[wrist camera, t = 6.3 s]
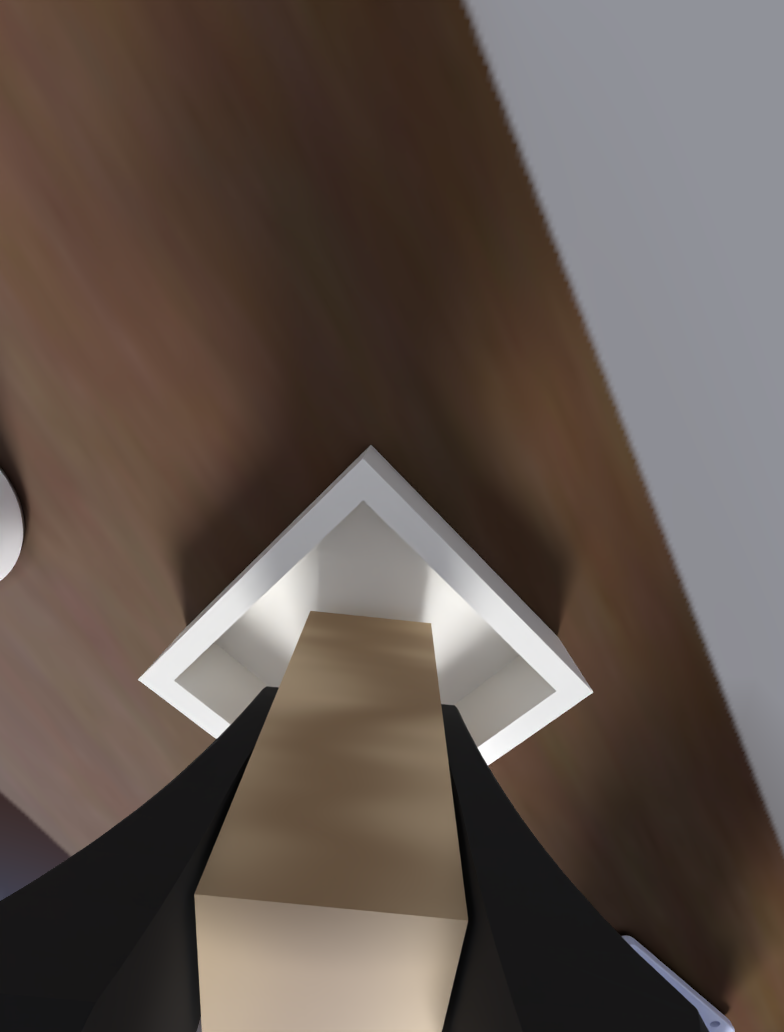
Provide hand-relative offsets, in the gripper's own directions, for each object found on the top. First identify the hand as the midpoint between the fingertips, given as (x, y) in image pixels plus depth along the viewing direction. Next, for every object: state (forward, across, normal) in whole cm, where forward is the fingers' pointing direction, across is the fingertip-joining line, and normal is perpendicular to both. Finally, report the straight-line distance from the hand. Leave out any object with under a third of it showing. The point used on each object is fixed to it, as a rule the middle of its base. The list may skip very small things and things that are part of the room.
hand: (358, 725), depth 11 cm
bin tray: (+5, 0, 0) cm, 5 cm away
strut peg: (+3, 0, 0) cm, 3 cm away
